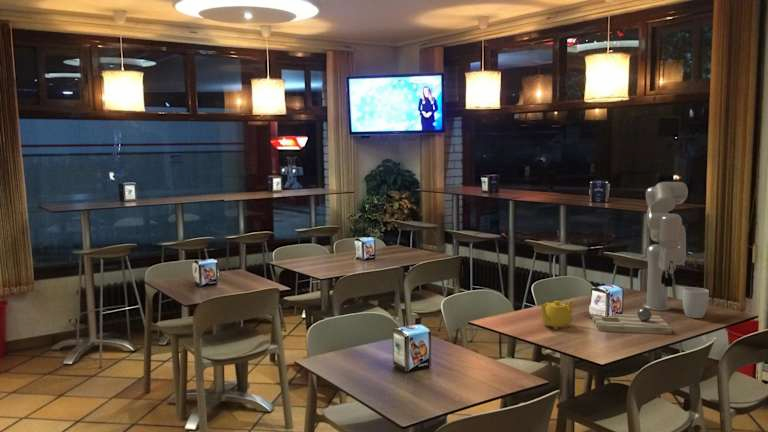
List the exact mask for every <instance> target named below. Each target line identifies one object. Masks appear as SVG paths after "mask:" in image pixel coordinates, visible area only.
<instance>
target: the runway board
mask: <svg viewBox="0 0 768 432" xmlns="http://www.w3.org/2000/svg"><path fill="white" fill-rule="evenodd" d="M593 313H594V312H591V314H590V315H591V316H590V318H592V319H591V320H592V322H593V323H594V325H595V327H596V329H597V330H598V331H599V332H618V333H620V332H621V333H641V334H642V333H643V334H661V335H672V332H673V328H672V326H670V325H669V324H668V323H667V321H665V320H664V319H663V318H662V317H661V316H660V315H652V316H651V319H650V320H648V321H642V320H640V319H639V318H638V316H637V314H623V313H619V314H618V313H615V314H616V315H613V316H608V317H606V316H602V315H598V314H593Z"/></svg>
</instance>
